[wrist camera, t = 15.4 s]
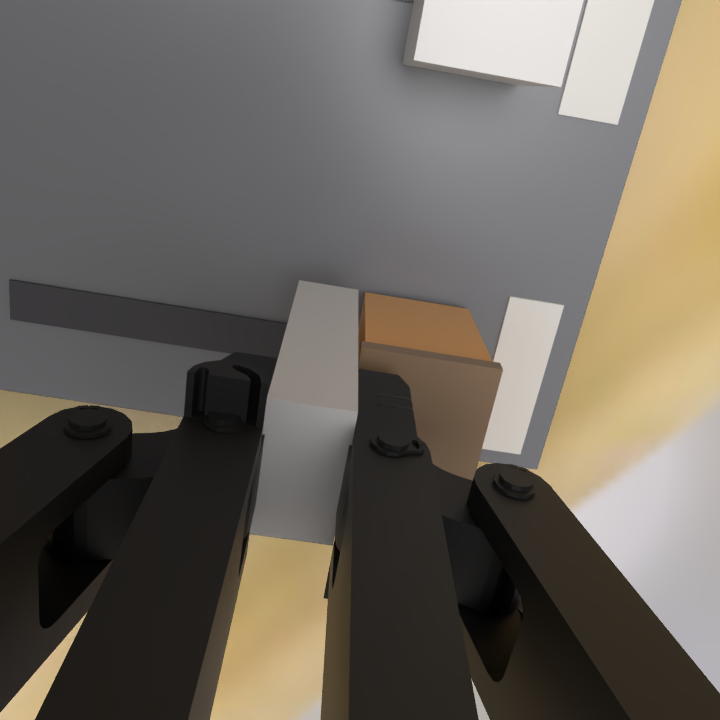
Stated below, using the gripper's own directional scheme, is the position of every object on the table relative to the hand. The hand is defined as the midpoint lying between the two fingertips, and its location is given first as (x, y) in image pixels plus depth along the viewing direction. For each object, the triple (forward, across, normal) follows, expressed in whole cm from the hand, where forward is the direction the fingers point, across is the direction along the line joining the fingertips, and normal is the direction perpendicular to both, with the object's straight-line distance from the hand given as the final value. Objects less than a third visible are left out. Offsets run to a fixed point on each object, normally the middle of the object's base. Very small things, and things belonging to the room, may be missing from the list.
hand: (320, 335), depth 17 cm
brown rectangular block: (+2, +3, -1) cm, 4 cm away
